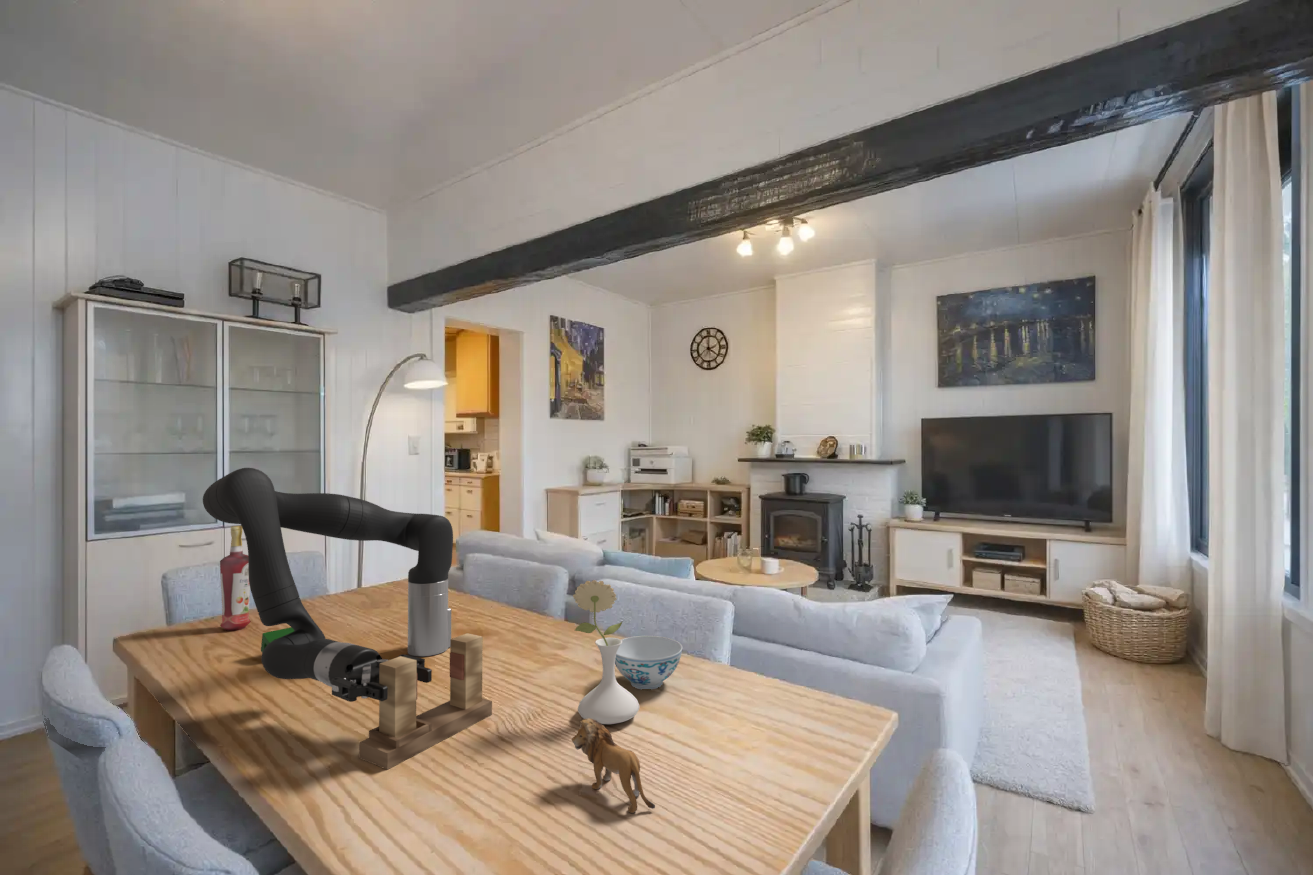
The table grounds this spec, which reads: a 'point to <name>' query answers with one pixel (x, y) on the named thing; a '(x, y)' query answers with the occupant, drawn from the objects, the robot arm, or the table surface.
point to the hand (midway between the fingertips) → (408, 684)
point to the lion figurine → (610, 760)
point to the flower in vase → (604, 661)
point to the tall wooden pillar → (398, 696)
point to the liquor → (235, 585)
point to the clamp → (274, 636)
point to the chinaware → (647, 660)
